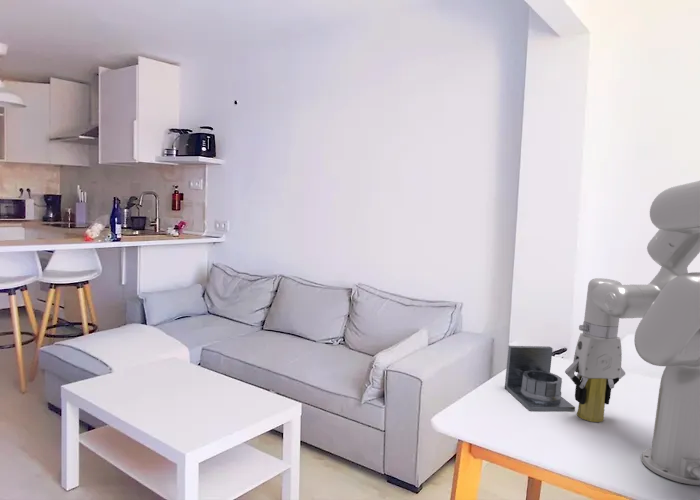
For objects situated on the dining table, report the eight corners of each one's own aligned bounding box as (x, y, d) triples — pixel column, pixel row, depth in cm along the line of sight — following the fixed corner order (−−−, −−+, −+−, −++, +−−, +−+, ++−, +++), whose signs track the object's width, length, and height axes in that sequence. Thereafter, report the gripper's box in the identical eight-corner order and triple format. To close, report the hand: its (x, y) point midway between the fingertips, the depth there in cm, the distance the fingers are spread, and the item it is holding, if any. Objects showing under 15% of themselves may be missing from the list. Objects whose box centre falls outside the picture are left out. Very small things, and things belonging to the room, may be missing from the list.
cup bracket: (574, 411, 134) (579, 365, 132) (529, 411, 132) (534, 364, 131) (545, 388, 149) (549, 346, 147) (504, 387, 147) (508, 345, 145)
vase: (606, 424, 127) (613, 366, 125) (579, 420, 128) (586, 363, 127) (600, 413, 133) (606, 358, 131) (574, 410, 134) (580, 355, 132)
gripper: (575, 333, 123) (567, 408, 125) (643, 335, 125) (634, 408, 128) (558, 325, 130) (551, 395, 133) (623, 326, 133) (614, 396, 135)
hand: (591, 401), depth 130 cm, fingers closed on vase, 5 cm apart
